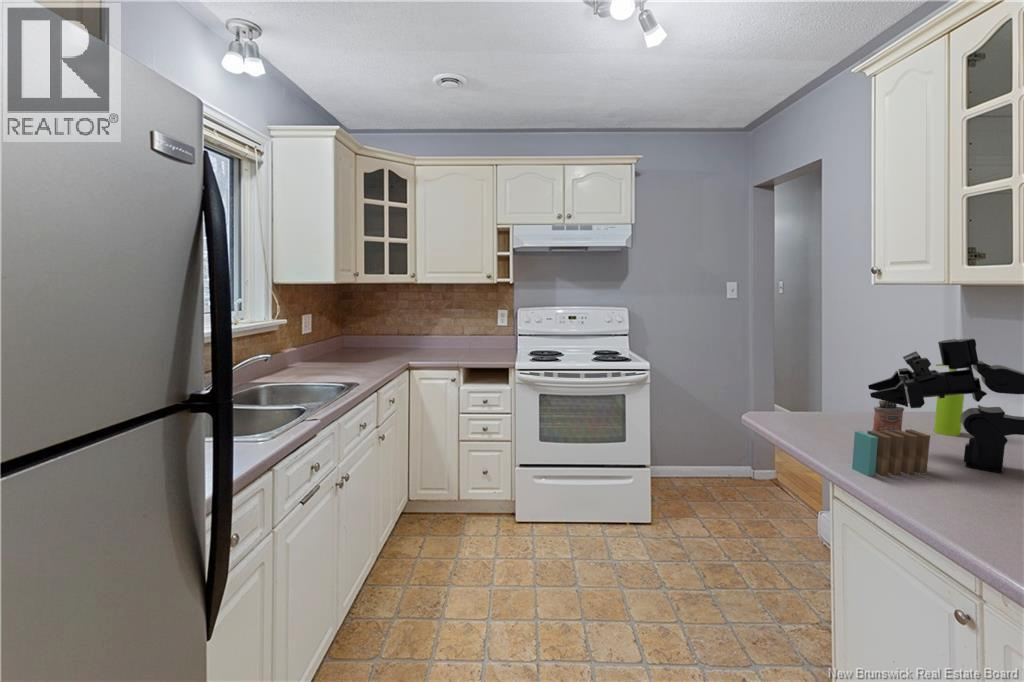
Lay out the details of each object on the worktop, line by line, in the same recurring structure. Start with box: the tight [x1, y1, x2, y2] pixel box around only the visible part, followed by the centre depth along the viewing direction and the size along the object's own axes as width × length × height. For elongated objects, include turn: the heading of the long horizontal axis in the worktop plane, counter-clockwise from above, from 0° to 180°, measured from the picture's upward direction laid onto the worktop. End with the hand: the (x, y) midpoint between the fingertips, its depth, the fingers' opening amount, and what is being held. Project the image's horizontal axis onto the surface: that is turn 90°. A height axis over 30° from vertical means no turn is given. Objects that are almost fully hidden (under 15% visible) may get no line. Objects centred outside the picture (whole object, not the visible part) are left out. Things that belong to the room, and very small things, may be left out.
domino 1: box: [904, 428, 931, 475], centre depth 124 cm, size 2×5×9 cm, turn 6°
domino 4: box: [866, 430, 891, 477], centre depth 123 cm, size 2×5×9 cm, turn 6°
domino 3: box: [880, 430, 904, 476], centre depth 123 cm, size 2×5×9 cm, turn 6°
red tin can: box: [871, 399, 905, 433], centre depth 154 cm, size 8×3×10 cm, turn 92°
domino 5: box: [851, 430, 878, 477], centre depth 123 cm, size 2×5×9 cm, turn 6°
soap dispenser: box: [933, 363, 965, 437], centre depth 154 cm, size 6×7×20 cm
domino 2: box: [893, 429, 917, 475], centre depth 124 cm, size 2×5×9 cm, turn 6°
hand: (869, 391), depth 137 cm, fingers open, 9 cm apart
